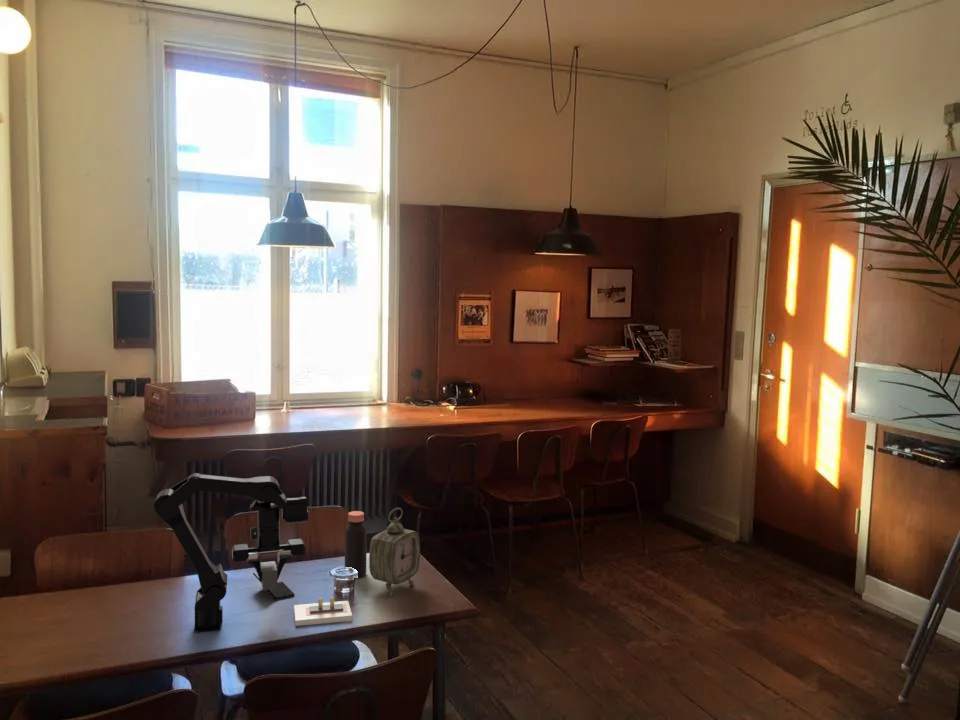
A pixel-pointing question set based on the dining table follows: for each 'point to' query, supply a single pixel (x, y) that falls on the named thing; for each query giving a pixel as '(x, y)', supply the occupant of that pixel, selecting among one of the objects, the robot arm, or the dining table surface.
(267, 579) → the connector housing
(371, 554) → the tabletop clock
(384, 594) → the dining table surface
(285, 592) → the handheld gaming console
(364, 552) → the bottle
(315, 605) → the header board
